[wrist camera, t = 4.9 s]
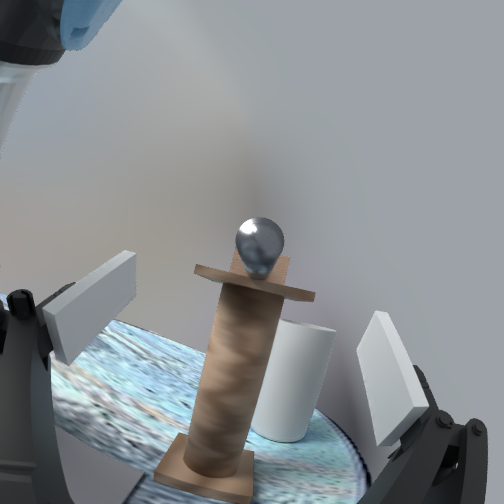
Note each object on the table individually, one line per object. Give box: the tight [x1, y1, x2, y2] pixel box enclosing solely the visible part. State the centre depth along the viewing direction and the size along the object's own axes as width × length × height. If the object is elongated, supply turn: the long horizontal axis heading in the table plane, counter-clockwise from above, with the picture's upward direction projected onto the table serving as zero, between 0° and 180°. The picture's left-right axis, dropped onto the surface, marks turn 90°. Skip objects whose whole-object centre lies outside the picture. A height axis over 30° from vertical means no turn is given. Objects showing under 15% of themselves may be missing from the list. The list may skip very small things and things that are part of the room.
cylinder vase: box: [251, 319, 336, 442], centre depth 52 cm, size 12×12×25 cm
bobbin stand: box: [153, 264, 315, 504], centre depth 33 cm, size 13×13×30 cm
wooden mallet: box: [229, 218, 290, 285], centre depth 29 cm, size 24×7×4 cm, turn 179°
